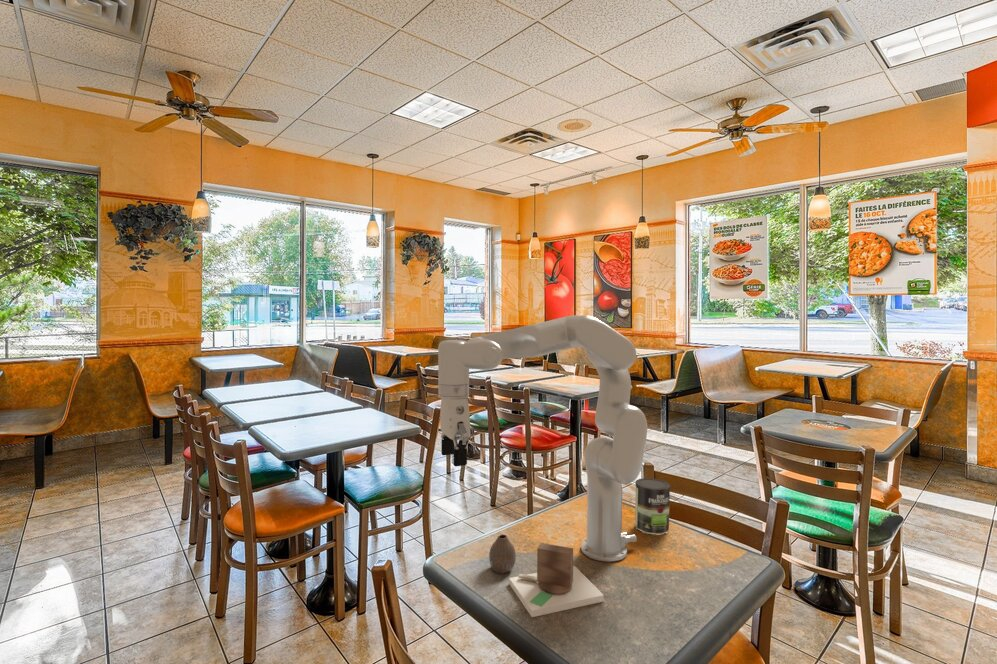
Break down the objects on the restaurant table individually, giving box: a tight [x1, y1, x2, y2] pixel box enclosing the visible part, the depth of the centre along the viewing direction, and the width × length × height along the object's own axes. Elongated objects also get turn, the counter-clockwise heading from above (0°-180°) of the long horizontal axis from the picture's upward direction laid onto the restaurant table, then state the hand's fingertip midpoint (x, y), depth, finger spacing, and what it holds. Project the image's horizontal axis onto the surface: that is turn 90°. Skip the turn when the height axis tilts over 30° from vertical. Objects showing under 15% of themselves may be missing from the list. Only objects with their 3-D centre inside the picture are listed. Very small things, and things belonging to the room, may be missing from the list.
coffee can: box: [634, 477, 671, 535], centre depth 153 cm, size 10×10×14 cm
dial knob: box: [517, 542, 574, 594], centre depth 118 cm, size 13×8×9 cm, turn 70°
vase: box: [488, 534, 517, 574], centre depth 128 cm, size 7×7×9 cm
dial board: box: [508, 565, 605, 618], centre depth 117 cm, size 18×14×2 cm
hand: (453, 459), depth 121 cm, fingers open, 9 cm apart
